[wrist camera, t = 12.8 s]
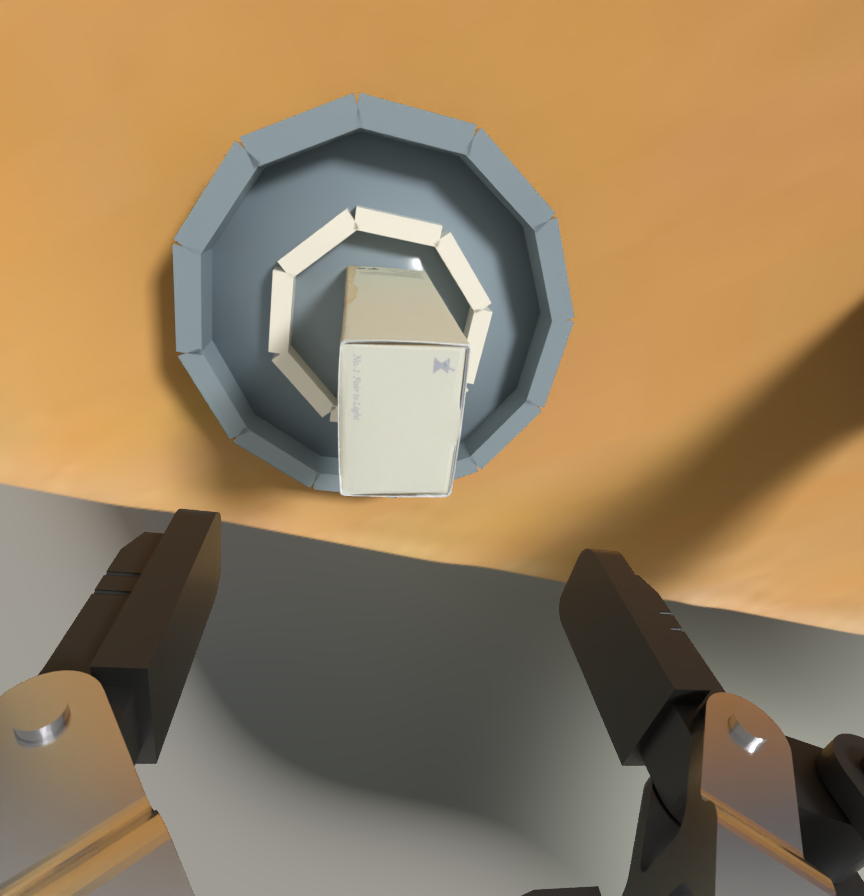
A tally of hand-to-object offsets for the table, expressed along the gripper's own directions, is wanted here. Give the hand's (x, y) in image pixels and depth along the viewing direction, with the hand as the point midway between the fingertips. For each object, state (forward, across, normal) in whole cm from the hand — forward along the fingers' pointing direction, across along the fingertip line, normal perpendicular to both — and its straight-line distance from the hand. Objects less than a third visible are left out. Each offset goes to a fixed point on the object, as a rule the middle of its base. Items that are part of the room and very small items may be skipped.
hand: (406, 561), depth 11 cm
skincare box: (+19, 0, 0) cm, 19 cm away
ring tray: (+20, 0, 0) cm, 20 cm away
